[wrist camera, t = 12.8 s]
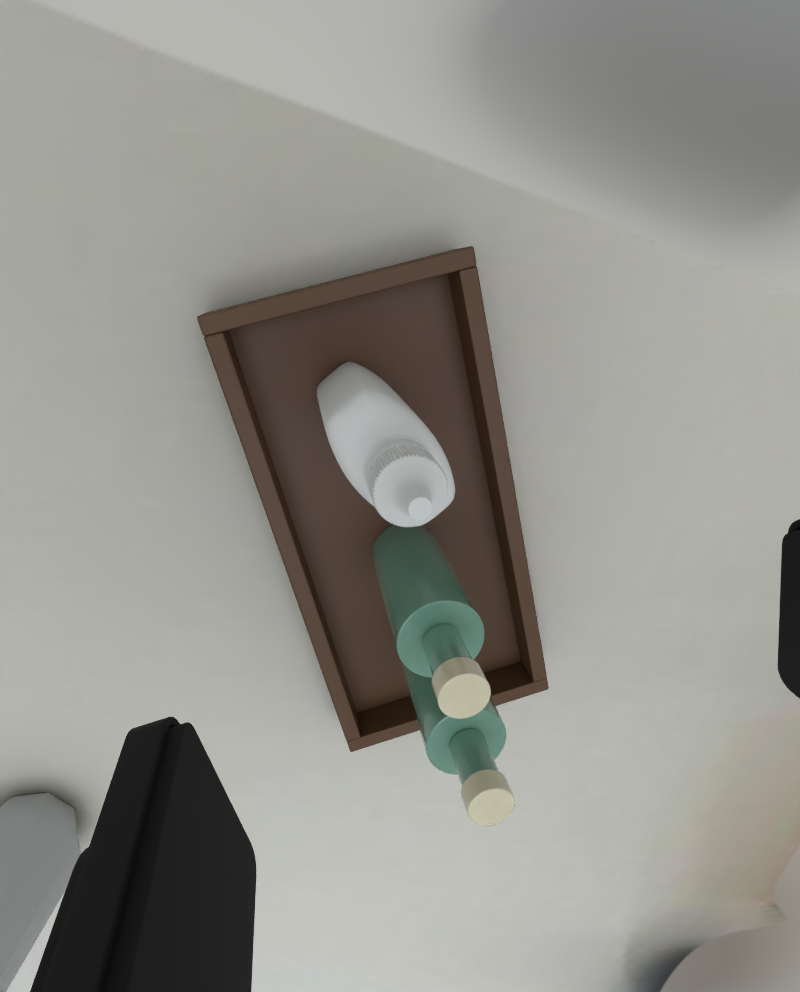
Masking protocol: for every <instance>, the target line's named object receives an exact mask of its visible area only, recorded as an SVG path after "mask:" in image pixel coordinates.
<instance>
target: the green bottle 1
mask: <svg viewBox="0 0 800 992" xmlns="http://www.w3.org/2000/svg"><path fill="white" fill-rule="evenodd" d="M371 558H372V564H373V567H374V571H375V575H376V578H377V582H378V585H379V589H380V592H381V596H382V599H383V603H384V606H385V610H386V613H387V617H388V620H389V624H390V627H391V631H392V635H393V638H394V642H395V645H396V649H397V652H398V655H399V658H400V659H401V661H402V663H403V664H404V665H405V666H406V667H407V668H408V669H409V670H411V671H412V672H414V673H416V674H418V675H421V676H424V677H431V678H432V688H433V691H434V694H435V697H436V700H437V703H438V706H439V708H440V710H441V711H442V712H443V713H444V714H445V715H447V716H449V717H452V718H456V719H464V718H469V717H471V716H474V715H476V714H477V713H479V712H480V711H482V710H483V709H484V707H485V706H486V705H487V703H488V701H489V699H490V695H491V689H490V685H489V683H488V681H487V679H486V677H485V675H484V673H483V671H482V669H481V667H480V665H479V664H478V663H477V662H476V661H474V659H475V658H476V657H477V655H478V653H479V652H480V650H481V648H482V645H483V641H484V626H483V622H482V620H481V618H480V616H479V614H478V612H477V611H476V609H475V607H474V605H473V604H472V602H471V600H470V598H469V596H468V595H467V593H466V591H465V589H464V587H463V586H462V584H461V582H460V580H459V578H458V577H457V575H456V573H455V571H454V569H453V568H452V566H451V564H450V562H449V560H448V559H447V557H446V555H445V553H444V551H443V550H442V548H441V546H440V544H439V542H438V541H437V539H436V537H435V536H434V534H433V533H432V532H431V531H430V530H429V529H428V528H427V527H425V526H423V525H421V526H414V527H401V526H397V525H392V526H390V527H389V528H387V529H386V530H384V531H383V532H382V533H381V534H380V535H379V536H378V538H377V539H376V541H375V543H374V545H373V548H372V554H371Z"/></svg>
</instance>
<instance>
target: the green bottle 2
mask: <svg viewBox="0 0 800 992" xmlns="http://www.w3.org/2000/svg"><path fill="white" fill-rule="evenodd" d="M400 662H401V665H402V669H403V672H404V676H405V679H406V683H407V686H408V690H409V693H410V697H411V700H412V704H413V707H414V711H415V714H416V718H417V721H418V725H419V728H420V732H421V736H422V739H423V743H424V746H425V750H426V753H427V756H428V759H429V760H430V762H431V763H432V764H433V765H434V766H435V767H436V768H437V769H439V770H441V771H443V772H445V773H449V774H457V775H458V776H459V779H460V782H461V785H462V788H461V797H462V800H463V803H464V806H465V809H466V812H467V815H468V817H469V819H470V820H471V821H472V822H473V823H474V824H476V825H479V826H493V825H496V824H499V823H501V822H502V821H504V820H505V819H507V818H508V817H509V816H510V815H511V813H512V811H513V809H514V806H515V799H514V796H513V794H512V791H511V789H510V787H509V784H508V782H507V780H506V778H505V776H504V775H503V774H502V773H501V772H499V770H498V768H497V766H496V763H495V761H494V760H495V759H496V758H497V756H498V755H499V754H500V752H501V751H502V749H503V747H504V744H505V740H506V729H505V725H504V723H503V721H502V719H501V717H500V715H499V713H498V711H497V709H496V706H495V704H494V702H493V700H492V698H491V696H490V699H489V701H488V703H487V705H486V706H485V707H484V709H483V710H482V711H480V712H479V713H477V714H476V715H474V716H471V717H469V718H464V719H456V718H452V717H449V716H447V715H445V714H444V713H443V712H442V711H441V710H440V708H439V706H438V703H437V700H436V697H435V694H434V691H433V688H432V678H431V677H424V676H421V675H418V674H416V673H414V672H412V671H411V670H409V669H408V668H407V667H406V666H405V665H404V664H403V663H402V661H401V659H400Z"/></svg>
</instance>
